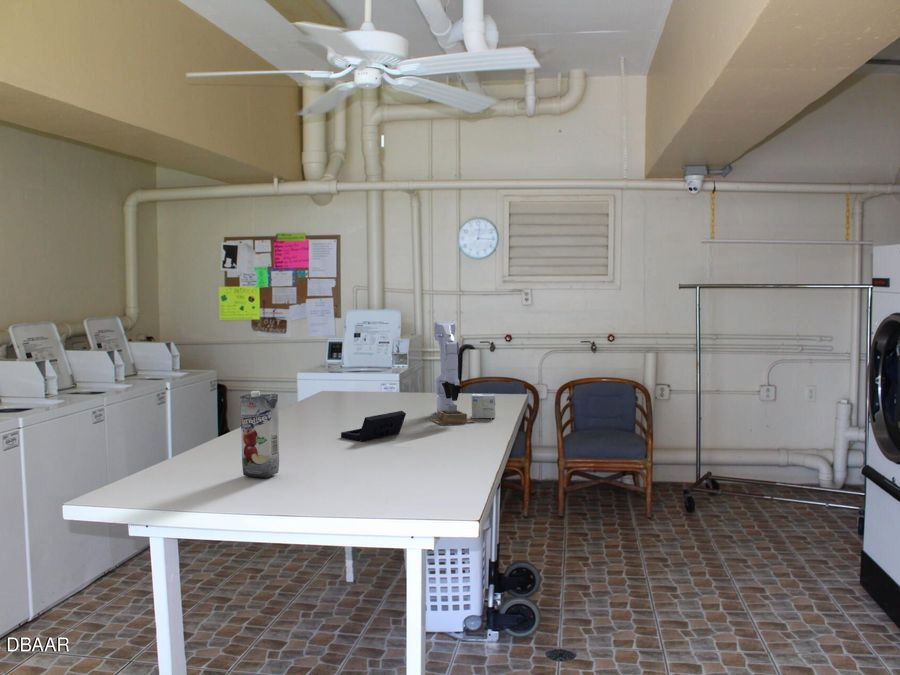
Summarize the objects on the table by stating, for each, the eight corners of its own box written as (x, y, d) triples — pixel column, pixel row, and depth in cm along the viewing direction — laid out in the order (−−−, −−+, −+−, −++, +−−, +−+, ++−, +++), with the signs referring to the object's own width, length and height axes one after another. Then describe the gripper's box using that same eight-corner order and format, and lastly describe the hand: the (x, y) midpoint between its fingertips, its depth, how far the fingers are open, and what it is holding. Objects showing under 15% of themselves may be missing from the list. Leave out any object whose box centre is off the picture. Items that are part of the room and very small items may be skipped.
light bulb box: (495, 416, 341) (495, 393, 340) (495, 419, 334) (494, 395, 333) (472, 416, 342) (472, 393, 341) (471, 419, 335) (471, 395, 334)
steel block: (445, 419, 329) (445, 404, 329) (454, 419, 331) (453, 403, 330) (448, 421, 325) (448, 405, 325) (457, 420, 327) (456, 405, 326)
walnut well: (430, 420, 332) (429, 411, 332) (463, 417, 337) (462, 408, 337) (440, 425, 319) (440, 415, 319) (474, 422, 324) (474, 413, 324)
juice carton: (255, 470, 240) (253, 388, 239) (283, 472, 237) (281, 389, 235) (238, 476, 232) (236, 391, 230) (266, 479, 228) (264, 392, 227)
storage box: (378, 431, 309) (377, 407, 308) (406, 435, 298) (406, 411, 298) (341, 438, 293) (340, 413, 292) (369, 443, 283) (369, 418, 282)
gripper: (437, 368, 332) (437, 397, 333) (448, 371, 319) (448, 402, 319) (452, 367, 335) (452, 397, 335) (463, 370, 321) (464, 401, 322)
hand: (451, 399), depth 328 cm, fingers open, 7 cm apart
